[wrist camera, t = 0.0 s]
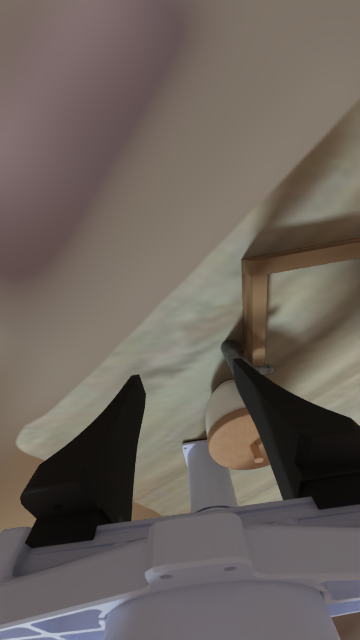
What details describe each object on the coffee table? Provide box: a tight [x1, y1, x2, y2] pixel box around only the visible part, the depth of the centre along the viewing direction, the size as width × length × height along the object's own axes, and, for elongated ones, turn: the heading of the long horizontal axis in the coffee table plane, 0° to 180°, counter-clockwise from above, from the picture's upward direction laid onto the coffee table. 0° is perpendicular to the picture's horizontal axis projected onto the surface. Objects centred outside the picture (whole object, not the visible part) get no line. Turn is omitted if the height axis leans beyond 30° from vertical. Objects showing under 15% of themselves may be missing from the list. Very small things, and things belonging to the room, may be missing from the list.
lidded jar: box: [205, 379, 270, 470], centre depth 23 cm, size 11×11×9 cm
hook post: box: [221, 340, 274, 376], centre depth 21 cm, size 2×4×6 cm, turn 100°
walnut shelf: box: [241, 238, 360, 367], centre depth 21 cm, size 14×18×3 cm
